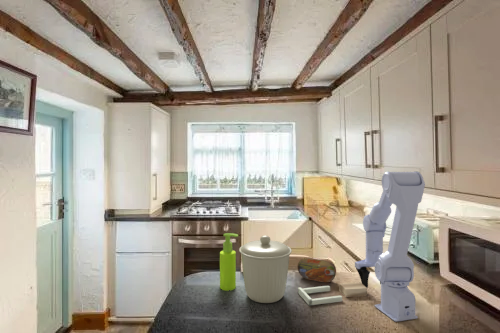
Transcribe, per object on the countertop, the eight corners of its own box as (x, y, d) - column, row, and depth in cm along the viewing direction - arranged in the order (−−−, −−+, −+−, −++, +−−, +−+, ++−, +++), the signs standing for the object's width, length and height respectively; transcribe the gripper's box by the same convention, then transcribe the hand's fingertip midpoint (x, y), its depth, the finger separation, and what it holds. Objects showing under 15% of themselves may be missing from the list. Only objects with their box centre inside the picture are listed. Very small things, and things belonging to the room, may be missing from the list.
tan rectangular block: (367, 296, 100) (367, 288, 100) (345, 298, 99) (345, 289, 99) (360, 290, 105) (360, 282, 104) (339, 291, 104) (339, 283, 103)
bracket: (342, 301, 96) (342, 295, 96) (309, 305, 93) (309, 299, 93) (328, 289, 104) (328, 284, 104) (298, 293, 101) (298, 287, 101)
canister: (289, 312, 88) (289, 244, 88) (233, 306, 92) (233, 241, 92) (292, 287, 106) (293, 230, 106) (245, 283, 110) (245, 228, 110)
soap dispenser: (236, 291, 103) (236, 236, 102) (217, 289, 104) (217, 235, 104) (240, 284, 108) (240, 232, 108) (222, 283, 110) (222, 231, 110)
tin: (297, 277, 116) (297, 256, 116) (299, 274, 118) (299, 254, 118) (335, 284, 109) (335, 262, 109) (336, 281, 111) (337, 260, 111)
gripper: (383, 244, 109) (383, 280, 109) (350, 247, 106) (349, 283, 106) (397, 250, 102) (397, 287, 102) (361, 253, 99) (361, 292, 99)
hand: (374, 286), depth 104 cm, fingers open, 7 cm apart
